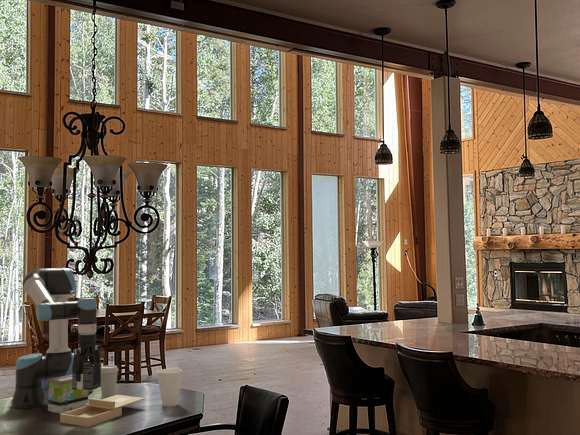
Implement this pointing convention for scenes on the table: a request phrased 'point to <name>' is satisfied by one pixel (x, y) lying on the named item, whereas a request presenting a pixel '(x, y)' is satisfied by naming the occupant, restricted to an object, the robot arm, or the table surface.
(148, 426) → the table surface
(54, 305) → the robot arm
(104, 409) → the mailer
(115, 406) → the lid
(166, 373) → the cup
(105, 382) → the coffee cup
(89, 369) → the small box
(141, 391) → the table surface
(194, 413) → the table surface
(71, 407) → the tea box
